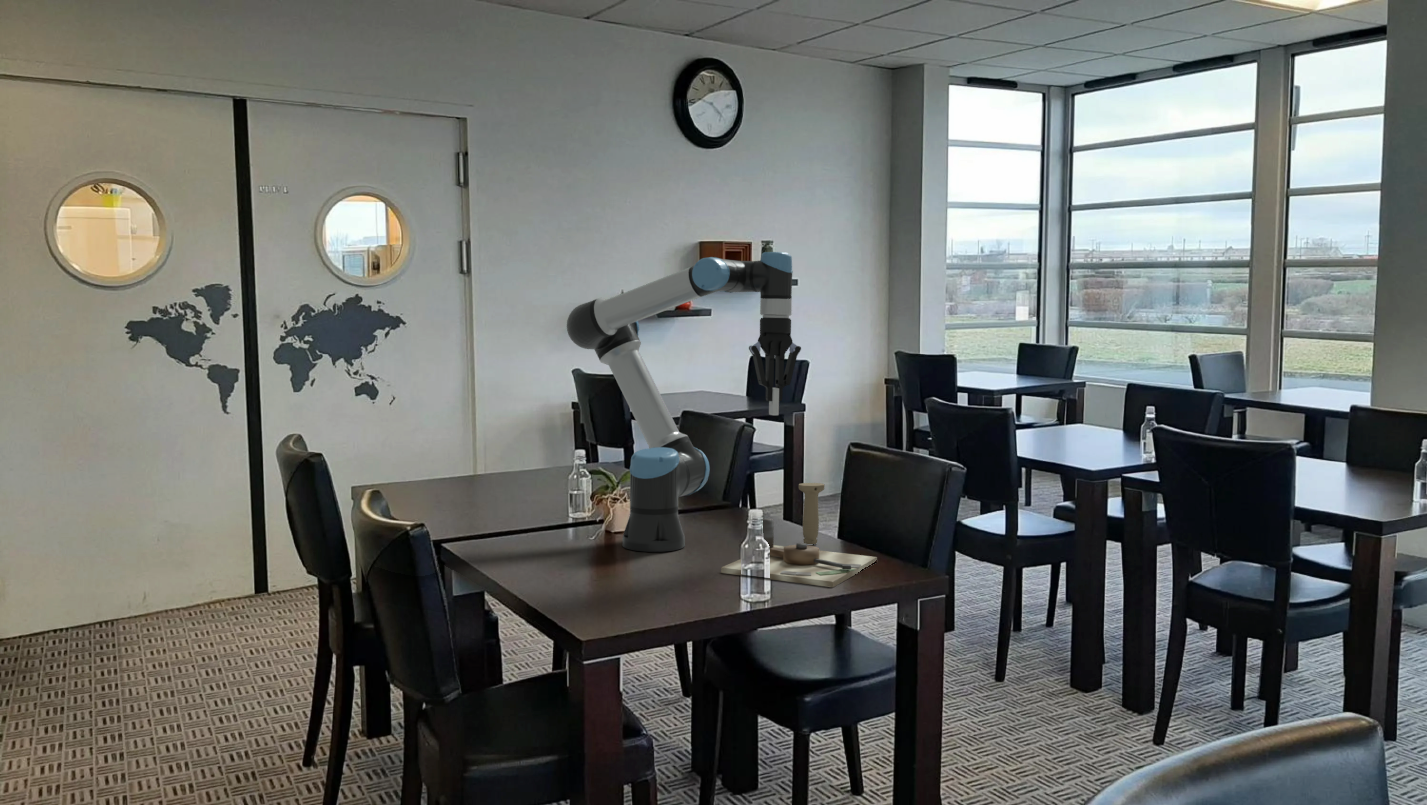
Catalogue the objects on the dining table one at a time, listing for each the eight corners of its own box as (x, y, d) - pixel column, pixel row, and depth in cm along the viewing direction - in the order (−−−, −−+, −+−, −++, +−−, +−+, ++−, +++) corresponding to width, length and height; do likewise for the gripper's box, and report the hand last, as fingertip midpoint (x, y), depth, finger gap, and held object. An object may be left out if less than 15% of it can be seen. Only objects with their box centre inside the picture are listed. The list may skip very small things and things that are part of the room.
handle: (826, 545, 274) (827, 485, 273) (802, 547, 272) (804, 486, 270) (817, 541, 278) (818, 482, 277) (794, 543, 276) (795, 483, 275)
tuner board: (721, 572, 243) (721, 566, 243) (773, 550, 268) (773, 544, 267) (834, 587, 231) (834, 580, 231) (878, 562, 256) (878, 556, 255)
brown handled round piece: (861, 568, 243) (862, 531, 242) (839, 573, 237) (840, 536, 236) (773, 550, 260) (774, 516, 259) (751, 555, 254) (751, 520, 253)
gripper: (794, 317, 272) (793, 413, 274) (744, 316, 269) (743, 413, 270) (806, 317, 265) (804, 415, 267) (755, 316, 261) (753, 416, 263)
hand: (773, 414), depth 269 cm, fingers closed
